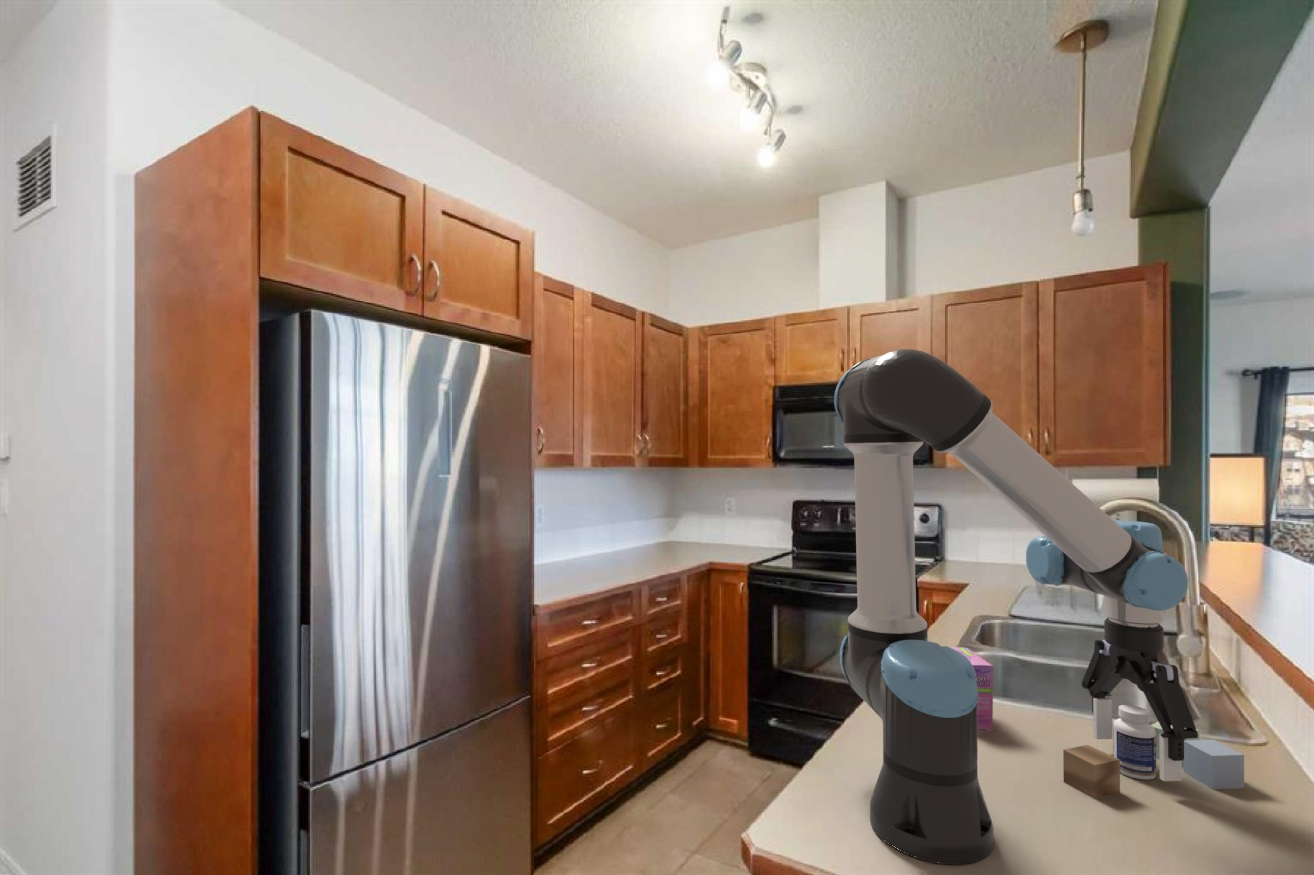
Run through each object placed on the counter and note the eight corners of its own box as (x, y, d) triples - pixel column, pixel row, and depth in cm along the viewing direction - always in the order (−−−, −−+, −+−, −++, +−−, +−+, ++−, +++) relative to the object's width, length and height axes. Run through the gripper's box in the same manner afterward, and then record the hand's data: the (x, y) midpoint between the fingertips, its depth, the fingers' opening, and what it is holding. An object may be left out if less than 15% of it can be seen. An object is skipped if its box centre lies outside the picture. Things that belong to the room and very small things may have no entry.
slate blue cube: (1212, 789, 98) (1211, 755, 98) (1183, 772, 103) (1183, 740, 103) (1244, 788, 98) (1243, 754, 98) (1214, 771, 103) (1213, 739, 103)
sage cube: (1187, 768, 104) (1186, 737, 104) (1150, 756, 108) (1149, 725, 108) (1199, 760, 107) (1199, 729, 107) (1162, 748, 111) (1162, 718, 111)
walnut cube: (1094, 799, 95) (1094, 764, 95) (1063, 782, 100) (1063, 749, 100) (1120, 793, 97) (1119, 759, 97) (1088, 777, 101) (1087, 744, 101)
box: (994, 731, 118) (993, 664, 118) (962, 731, 118) (961, 664, 118) (967, 707, 128) (967, 646, 128) (938, 707, 128) (937, 646, 128)
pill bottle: (1163, 782, 100) (1163, 717, 100) (1124, 779, 101) (1123, 714, 101) (1145, 765, 105) (1144, 703, 105) (1107, 762, 106) (1106, 701, 106)
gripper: (1229, 644, 91) (1231, 799, 91) (1098, 601, 116) (1099, 722, 115) (1177, 645, 90) (1179, 801, 90) (1057, 602, 115) (1058, 724, 115)
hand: (1134, 757), depth 103 cm, fingers open, 13 cm apart
